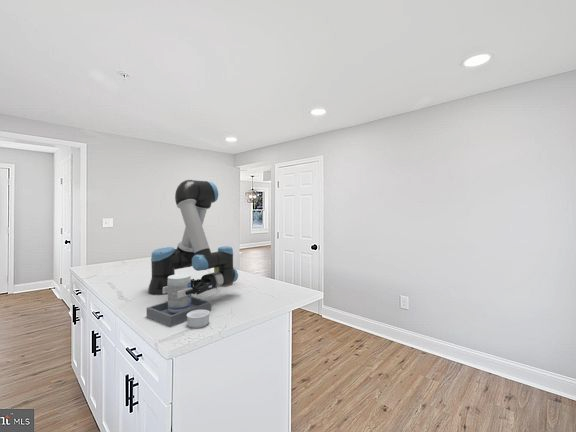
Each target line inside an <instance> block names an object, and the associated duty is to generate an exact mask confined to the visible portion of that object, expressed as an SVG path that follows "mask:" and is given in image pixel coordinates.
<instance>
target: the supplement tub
mask: <svg viewBox="0 0 576 432" xmlns="http://www.w3.org/2000/svg"><path fill="white" fill-rule="evenodd" d="M191 277H192V276H191V274H189V273H175V275H171V276H169V277H168V280H167V286H168V293H167V301H168V311H170V312H172V313H179V312H182V311H185V310H188V309H190V308H191V297H192V294H191V295H187V296H184V297H181V298H177V291H181V290H184V289H188V288H191Z"/></svg>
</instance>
